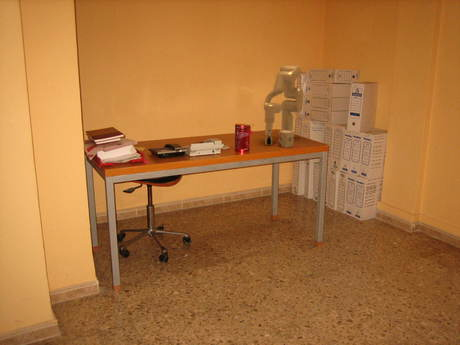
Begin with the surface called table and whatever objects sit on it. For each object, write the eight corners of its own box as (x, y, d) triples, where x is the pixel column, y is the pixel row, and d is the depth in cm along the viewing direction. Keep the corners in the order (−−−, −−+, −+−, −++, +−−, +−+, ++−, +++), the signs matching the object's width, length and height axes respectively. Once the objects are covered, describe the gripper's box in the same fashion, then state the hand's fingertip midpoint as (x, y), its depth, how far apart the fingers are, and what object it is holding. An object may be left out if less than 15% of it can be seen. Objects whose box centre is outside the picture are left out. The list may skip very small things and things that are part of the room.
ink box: (277, 146, 337) (278, 130, 334) (285, 144, 342) (286, 129, 339) (286, 148, 331) (286, 132, 327) (293, 146, 336) (294, 131, 333)
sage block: (265, 143, 345) (265, 137, 344) (271, 143, 345) (271, 137, 343) (265, 144, 340) (265, 138, 339) (271, 144, 340) (272, 138, 339)
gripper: (264, 118, 346) (263, 141, 351) (265, 122, 329) (264, 145, 334) (273, 118, 345) (272, 141, 350) (275, 122, 329) (274, 145, 334)
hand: (268, 143), depth 342 cm, fingers closed on sage block, 5 cm apart
